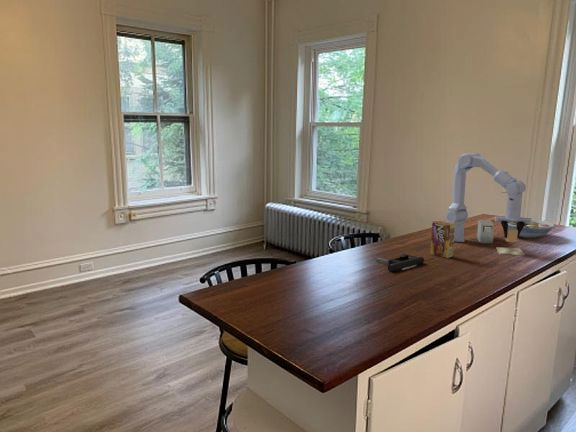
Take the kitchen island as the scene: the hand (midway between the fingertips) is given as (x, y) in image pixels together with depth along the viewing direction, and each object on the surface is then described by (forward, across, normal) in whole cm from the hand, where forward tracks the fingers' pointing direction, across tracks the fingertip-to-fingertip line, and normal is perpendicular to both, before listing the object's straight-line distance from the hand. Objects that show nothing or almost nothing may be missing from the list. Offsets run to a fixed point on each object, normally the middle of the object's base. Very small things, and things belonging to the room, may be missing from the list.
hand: (511, 237), depth 196 cm
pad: (+7, 0, 0) cm, 7 cm away
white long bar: (+1, -8, +21) cm, 23 cm away
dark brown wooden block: (+7, -8, +20) cm, 23 cm away
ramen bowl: (+7, +14, +33) cm, 37 cm away
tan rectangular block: (+1, 0, 0) cm, 1 cm away
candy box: (+7, -30, -13) cm, 33 cm away
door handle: (+7, -49, -31) cm, 58 cm away
